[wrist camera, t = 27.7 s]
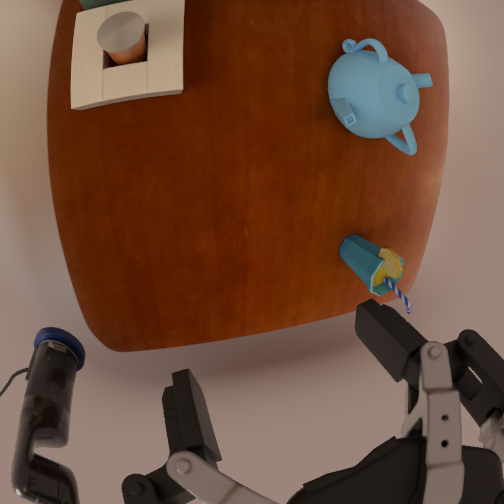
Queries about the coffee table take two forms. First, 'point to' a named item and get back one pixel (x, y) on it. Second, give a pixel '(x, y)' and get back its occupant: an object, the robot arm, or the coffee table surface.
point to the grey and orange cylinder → (123, 38)
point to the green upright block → (98, 3)
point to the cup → (374, 265)
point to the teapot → (375, 94)
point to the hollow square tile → (131, 75)
